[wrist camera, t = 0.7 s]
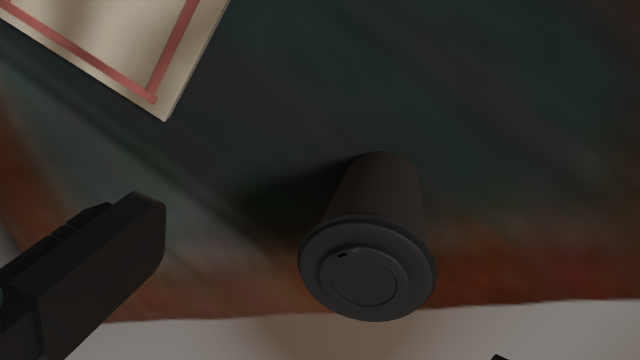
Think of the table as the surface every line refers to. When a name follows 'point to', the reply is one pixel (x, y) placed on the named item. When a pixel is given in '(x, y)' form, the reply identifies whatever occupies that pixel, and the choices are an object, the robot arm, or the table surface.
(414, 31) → the table surface
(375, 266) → the coffee cup
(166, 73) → the stamping board
